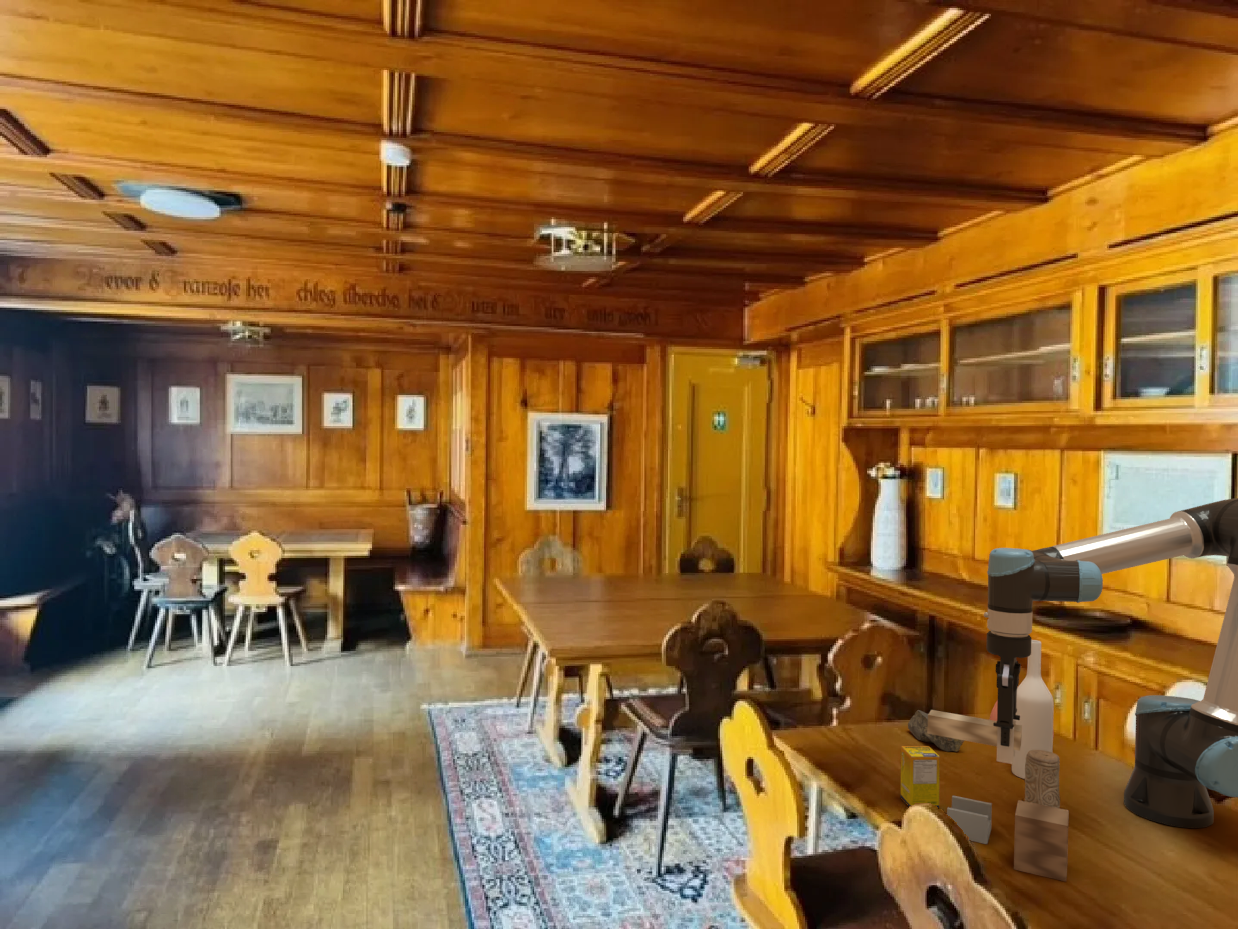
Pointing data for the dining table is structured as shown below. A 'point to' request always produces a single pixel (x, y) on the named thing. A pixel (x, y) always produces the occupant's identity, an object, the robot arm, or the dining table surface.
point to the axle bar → (968, 728)
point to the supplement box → (919, 775)
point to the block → (1041, 840)
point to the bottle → (1033, 712)
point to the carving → (1042, 778)
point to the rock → (919, 730)
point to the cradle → (972, 817)
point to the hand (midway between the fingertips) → (1005, 758)
